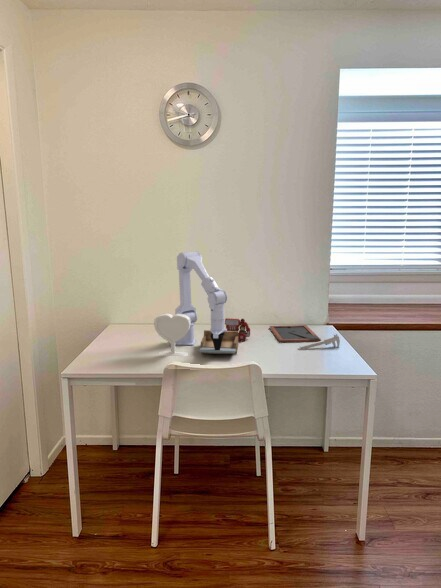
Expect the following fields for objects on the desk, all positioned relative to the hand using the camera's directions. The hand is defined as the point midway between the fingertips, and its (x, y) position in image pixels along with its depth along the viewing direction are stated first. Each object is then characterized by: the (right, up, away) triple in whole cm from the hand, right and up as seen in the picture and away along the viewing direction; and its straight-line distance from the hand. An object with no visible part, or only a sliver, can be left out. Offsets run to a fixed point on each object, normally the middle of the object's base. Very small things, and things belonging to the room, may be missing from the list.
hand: (217, 349), depth 179 cm
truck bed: (+1, -1, +11) cm, 11 cm away
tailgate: (0, -1, +4) cm, 4 cm away
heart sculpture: (-20, -3, +5) cm, 21 cm away
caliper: (+46, -1, +12) cm, 48 cm away
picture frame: (+38, +3, +32) cm, 50 cm away
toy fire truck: (+10, +2, +26) cm, 27 cm away
